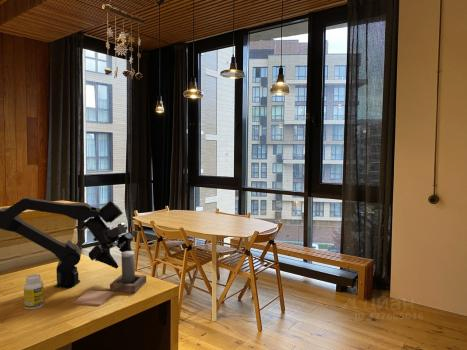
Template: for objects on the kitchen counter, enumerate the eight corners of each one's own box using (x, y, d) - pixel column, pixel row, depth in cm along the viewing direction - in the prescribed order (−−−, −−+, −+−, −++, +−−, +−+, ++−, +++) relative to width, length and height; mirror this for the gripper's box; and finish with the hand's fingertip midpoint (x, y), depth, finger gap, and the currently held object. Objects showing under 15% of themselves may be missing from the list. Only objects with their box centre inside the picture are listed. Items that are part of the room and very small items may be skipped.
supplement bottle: (35, 310, 108) (33, 280, 107) (20, 309, 109) (18, 278, 108) (48, 303, 113) (46, 273, 112) (33, 301, 114) (32, 272, 113)
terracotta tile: (74, 303, 113) (74, 301, 113) (89, 291, 121) (89, 290, 121) (99, 305, 111) (99, 303, 111) (113, 293, 120) (113, 291, 120)
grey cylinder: (120, 288, 124) (119, 254, 123) (125, 283, 129) (124, 250, 128) (131, 289, 124) (131, 255, 122) (137, 284, 128) (136, 251, 127)
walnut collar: (110, 291, 122) (109, 284, 122) (122, 280, 132) (122, 274, 131) (135, 292, 121) (135, 286, 121) (146, 282, 130) (146, 275, 130)
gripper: (94, 222, 118) (122, 258, 115) (128, 212, 135) (153, 242, 132) (76, 243, 121) (103, 277, 118) (112, 230, 138) (136, 260, 136)
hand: (125, 263), depth 126 cm, fingers open, 9 cm apart
